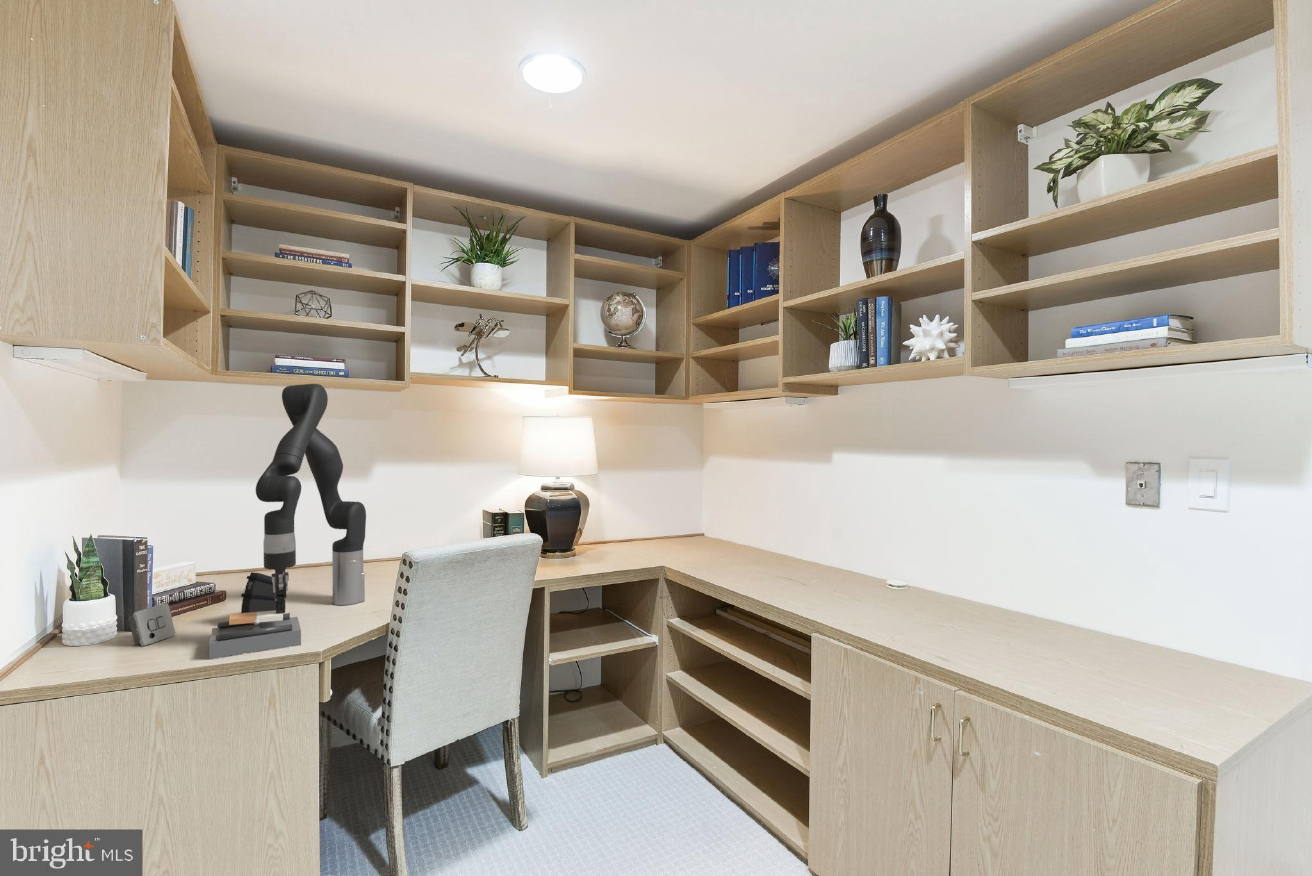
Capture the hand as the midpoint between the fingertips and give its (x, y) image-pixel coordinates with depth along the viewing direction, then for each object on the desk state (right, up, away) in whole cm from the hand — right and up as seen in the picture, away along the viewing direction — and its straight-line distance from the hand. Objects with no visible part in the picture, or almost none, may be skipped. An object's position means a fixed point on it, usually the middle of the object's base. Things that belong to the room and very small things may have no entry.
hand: (280, 613), depth 173 cm
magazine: (-15, -7, +18) cm, 25 cm away
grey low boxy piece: (-5, -8, -3) cm, 9 cm away
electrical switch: (-35, -8, -1) cm, 36 cm away
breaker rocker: (-5, -1, -3) cm, 6 cm away
